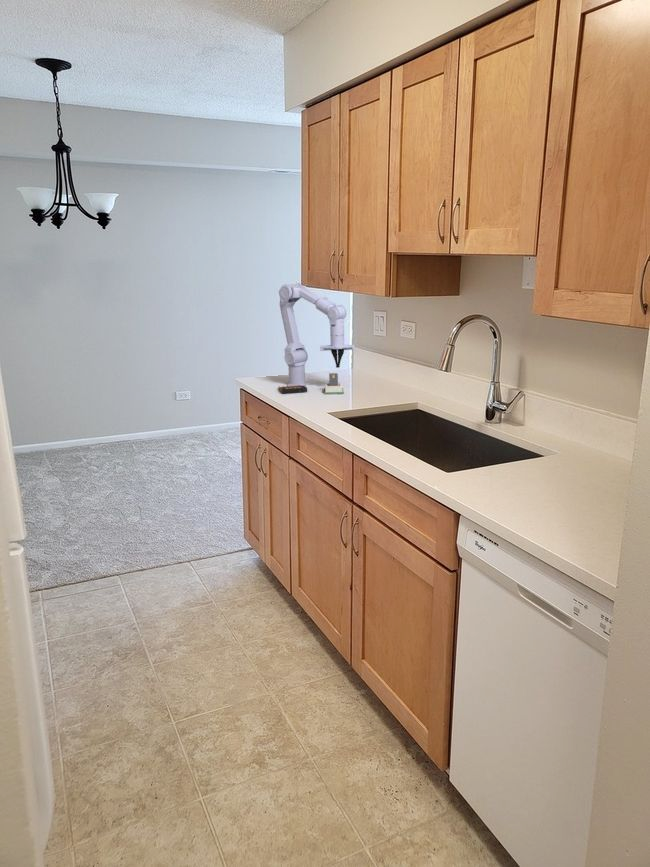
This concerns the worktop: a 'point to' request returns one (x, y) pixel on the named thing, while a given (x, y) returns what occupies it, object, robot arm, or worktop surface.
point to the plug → (333, 379)
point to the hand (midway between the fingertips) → (337, 367)
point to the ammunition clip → (292, 389)
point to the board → (333, 389)
